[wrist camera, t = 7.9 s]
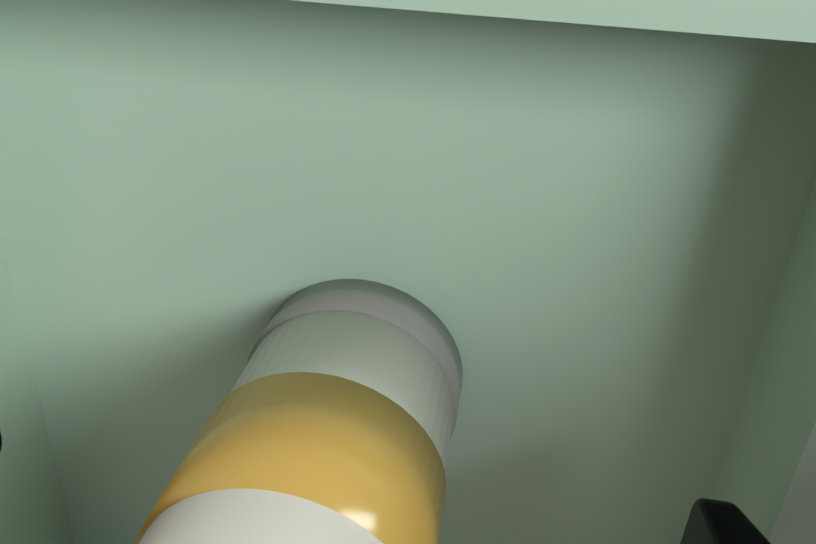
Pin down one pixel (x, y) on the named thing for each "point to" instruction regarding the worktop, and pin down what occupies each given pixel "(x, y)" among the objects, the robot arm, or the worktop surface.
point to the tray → (418, 244)
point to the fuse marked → (325, 429)
